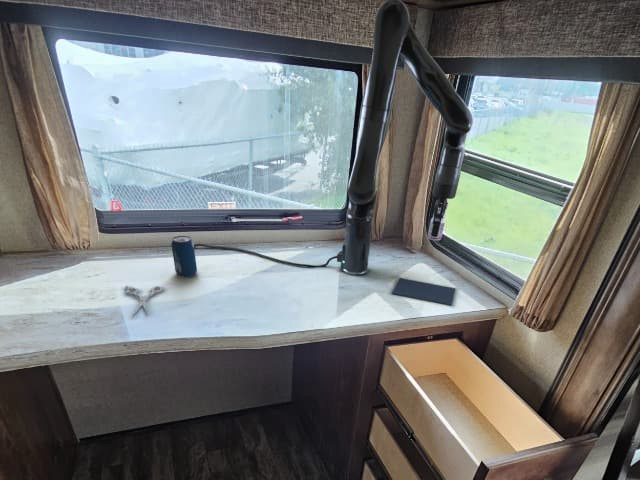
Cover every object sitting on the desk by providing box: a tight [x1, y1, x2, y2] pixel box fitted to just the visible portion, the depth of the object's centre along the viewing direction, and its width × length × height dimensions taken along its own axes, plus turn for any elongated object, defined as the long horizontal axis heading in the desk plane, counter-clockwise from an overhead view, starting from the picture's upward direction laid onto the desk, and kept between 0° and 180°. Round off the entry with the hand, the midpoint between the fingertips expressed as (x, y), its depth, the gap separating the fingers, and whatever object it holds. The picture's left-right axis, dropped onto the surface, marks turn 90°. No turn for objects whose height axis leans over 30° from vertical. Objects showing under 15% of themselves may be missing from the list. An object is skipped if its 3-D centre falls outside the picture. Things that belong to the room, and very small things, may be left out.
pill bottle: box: [426, 213, 446, 241], centre depth 146 cm, size 5×5×8 cm
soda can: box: [170, 235, 198, 278], centre depth 142 cm, size 7×7×12 cm
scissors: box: [125, 285, 163, 316], centre depth 127 cm, size 11×1×20 cm
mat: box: [391, 277, 456, 307], centre depth 148 cm, size 20×14×1 cm
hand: (435, 233), depth 148 cm, fingers closed on pill bottle, 4 cm apart
